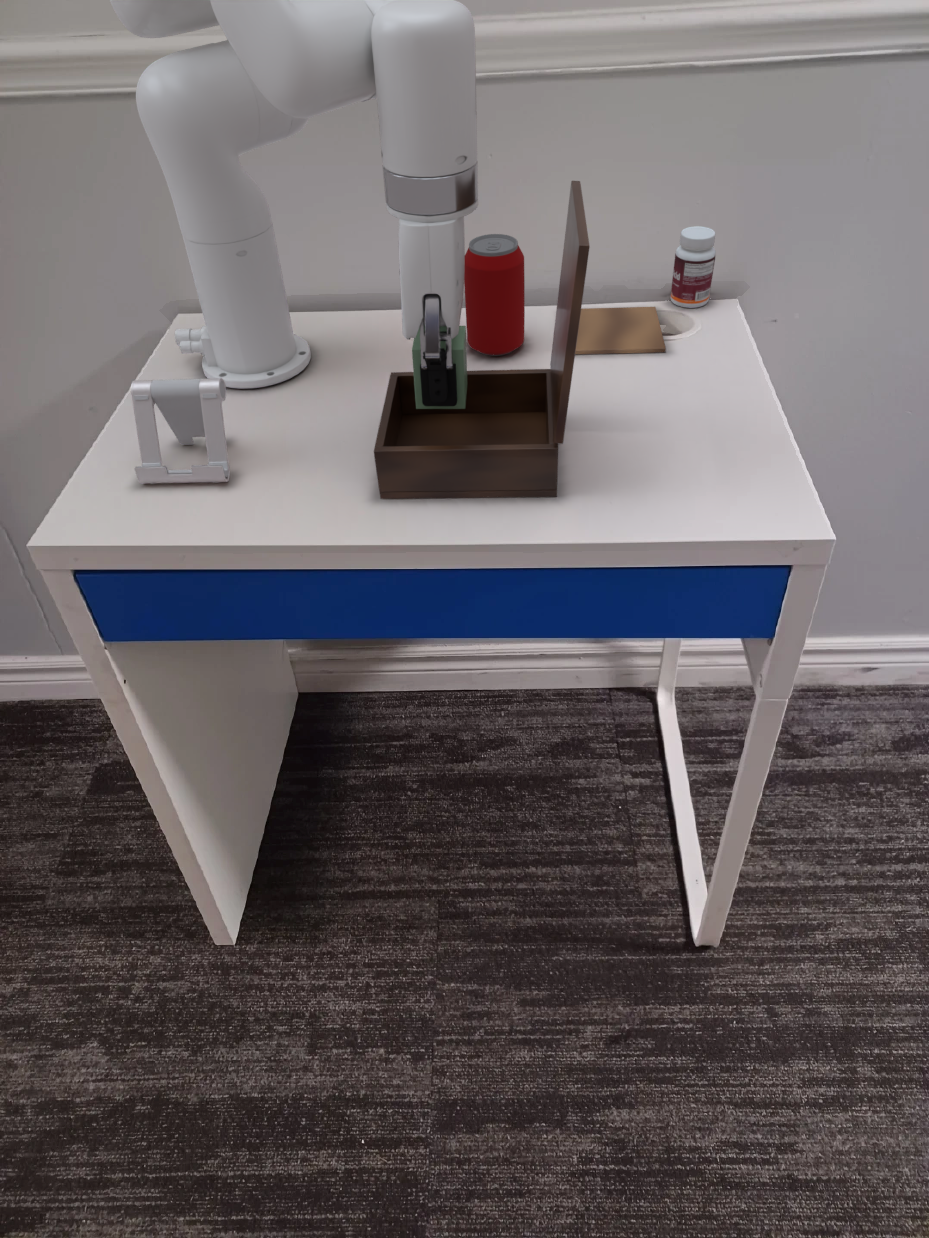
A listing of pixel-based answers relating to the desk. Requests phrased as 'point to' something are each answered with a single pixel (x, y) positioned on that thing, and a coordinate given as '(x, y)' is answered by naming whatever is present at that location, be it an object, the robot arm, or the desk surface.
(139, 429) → the tablet stand
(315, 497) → the desk surface
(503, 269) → the beverage can
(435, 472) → the chest
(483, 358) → the desk surface
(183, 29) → the robot arm
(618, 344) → the coaster
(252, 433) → the desk surface
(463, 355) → the green block
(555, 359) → the lid
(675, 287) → the pill bottle
